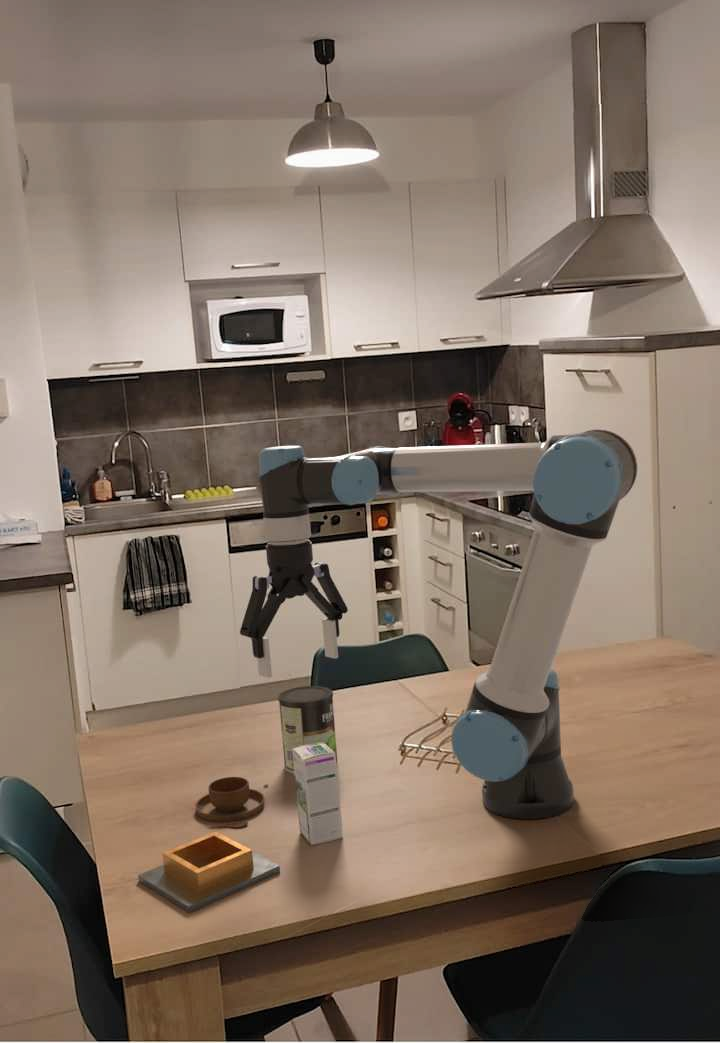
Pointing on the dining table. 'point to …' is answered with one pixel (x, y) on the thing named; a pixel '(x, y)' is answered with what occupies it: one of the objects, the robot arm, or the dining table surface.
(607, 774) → the dining table surface
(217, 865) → the wooden box on plate
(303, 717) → the coffee can
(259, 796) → the place setting
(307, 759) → the syrup box
